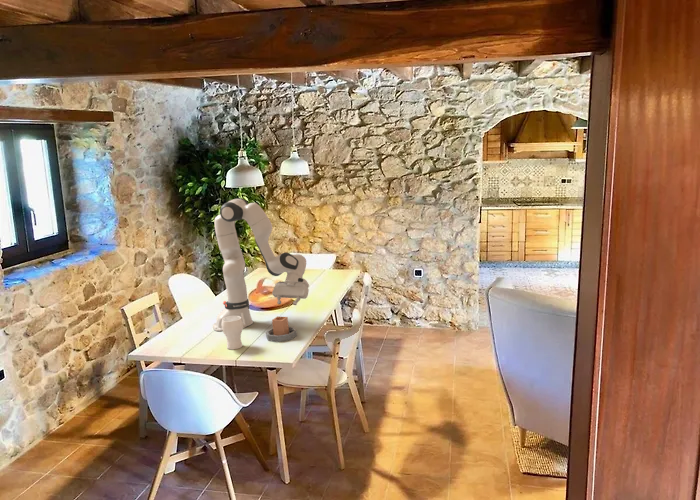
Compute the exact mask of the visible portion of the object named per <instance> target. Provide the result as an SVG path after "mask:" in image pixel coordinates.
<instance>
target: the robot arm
mask: <svg viewBox="0 0 700 500" xmlns="http://www.w3.org/2000/svg"><path fill="white" fill-rule="evenodd" d="M241 220H245V221H246V223H247V224H248V227H250V229H251V231H252V233H253V236H254V241H255V244H256V246H257V248H258V250H259V252H260V254H261V257H262V258H263V260H264V262H265V267H266V269H267V272H268V273H269V275H271V276H272V277H279V276H280V275H282V274H283V273H286V278H285V281H281V280H280V281H278V282H276V283H275V285H274V287H273V289H272V291H271V293H272V294H271V295H272V296H273V297H274V298H277V303H276V304H278V305H282V301H281V299H282V298H284V299H295V300H294V301H292V305H293V306H297V304H298V303H299V302H300V301H301V299H302V300H303V299H305V300H306V299H307V298H308V296H309V291H310V289H309V288H310V285H309V282H308V281H307V280H306V279H305V278H303V276H304V275H305V271H306V267H307V258H305V256H304V255H303V254H300V253H296V254H293V253H292V254H291V253H289V252H283V253H280V254H279V255H277V256H276V255H275V254H274V252H273V251H272V248H271V246H270V243H269V239H270V238H269V237H270V235H271V234H272V231H273V224H272V222H271V220H270V218H269V217H268V215H267V214H266V212H265V211H264V209H263V208H262V207H261V206H260V205H259V204H258V203H257V202H250V203H248V201H247V200H246V199H244V198H241V197H236V198H234V199H230V200H228V201H227V202H225V203H224V204H222V206H221V207H220V210H219V214H218V215H216V216H215V217H214V221H213V222H214V231H215V237H216V240H217V244H218V248H219V251H220V254H221V256H222V259H223V261H224V262H223V263H224V264H222V265H223V266H222V273H223V279H224V283H225V288H226V294H227V295H226V297H227V301H226V300H224V301H223V303H222V304H223V305H224V309H223V310H221V311H220V312H219V313H218V314H217V316H216V322H214V323H213V324H212V329H213V331H216V332H223V330H222V325H221V324H222V319H223V318H225V317H229V316H240V317H241V319H242V322H243V329H245V328H247V327H248V326H251V325H252V324H253V323H254V322H253V318H252V316H251V312H250V301H249V297H248V292H247V291H248V290H247V283H246V280H245V273H244V271H245V268H246V262H245V259H244V256H243V255H244V254H243V252H242V249H241V246H240V242H239V238H238V233H237V230H236V223H235V222H236V221H241Z"/></svg>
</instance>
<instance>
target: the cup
mask: <svg viewBox="0 0 700 500" xmlns="http://www.w3.org/2000/svg"><path fill="white" fill-rule="evenodd" d="M221 325H222V330H223V331H222V333H223V334H224V336H225V337H226V341H227V342H226V349H228V350H237V349H238V350H239V349H240V348H242V347H243V342H242V338H241V337H242V332H243V330H244V328H243V322H242V319H241V317H240V316H229V317H225V318H223V319H222V324H221Z"/></svg>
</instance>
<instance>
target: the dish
mask: <svg viewBox="0 0 700 500" xmlns="http://www.w3.org/2000/svg"><path fill="white" fill-rule="evenodd" d="M288 327H289V334H286V335H280V336H276V335H274V334H273V327H272V328H270V329H267V331H265V336H266V339H267V341H268V342H276V343H280V342H281V343H282V342H286V341H291V340H293V339H295V338H296V337H297V333H298V332H297V329H296V328H295V327H294V326H288Z"/></svg>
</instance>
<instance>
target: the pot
mask: <svg viewBox="0 0 700 500" xmlns="http://www.w3.org/2000/svg"><path fill="white" fill-rule="evenodd" d="M271 322H272V323H271V324H272V328H273V334H274V335H276V336H280V335H286V334H289V327H290V326H289V319H288V316H276V317H274V318H273V319H272V320H271Z"/></svg>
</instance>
